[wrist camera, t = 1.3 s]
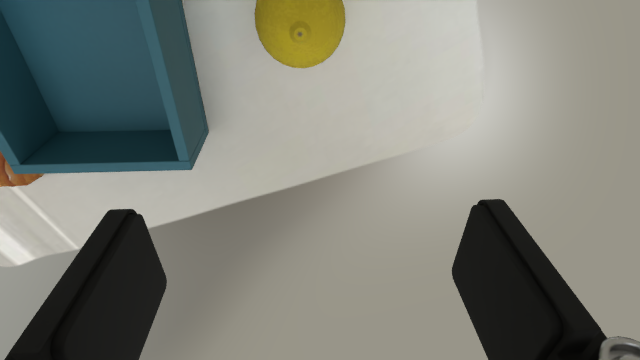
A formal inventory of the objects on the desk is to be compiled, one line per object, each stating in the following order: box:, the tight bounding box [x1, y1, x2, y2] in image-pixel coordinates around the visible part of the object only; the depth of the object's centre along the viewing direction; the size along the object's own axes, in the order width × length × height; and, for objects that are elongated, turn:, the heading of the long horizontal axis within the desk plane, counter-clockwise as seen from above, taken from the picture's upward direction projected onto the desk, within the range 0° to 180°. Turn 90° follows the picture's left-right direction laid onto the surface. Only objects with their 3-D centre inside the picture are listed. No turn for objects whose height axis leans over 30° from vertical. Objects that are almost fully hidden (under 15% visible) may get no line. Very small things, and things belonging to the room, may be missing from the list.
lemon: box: [255, 0, 345, 68], centre depth 22 cm, size 6×6×8 cm
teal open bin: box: [0, 0, 209, 174], centre depth 23 cm, size 16×13×6 cm
